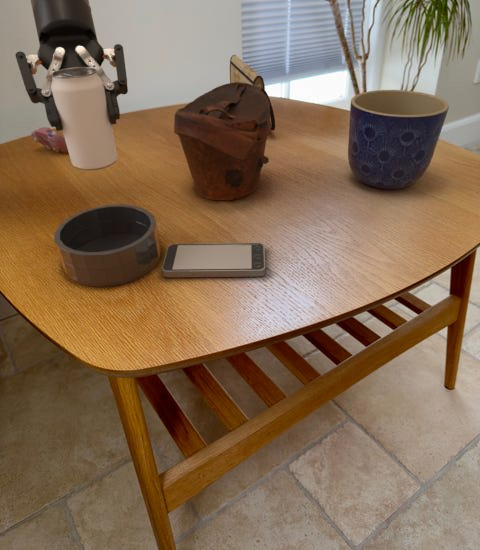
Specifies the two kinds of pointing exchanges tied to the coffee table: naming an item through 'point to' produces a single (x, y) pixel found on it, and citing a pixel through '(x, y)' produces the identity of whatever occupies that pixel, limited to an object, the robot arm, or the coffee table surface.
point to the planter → (393, 136)
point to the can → (84, 117)
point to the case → (225, 139)
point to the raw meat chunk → (49, 139)
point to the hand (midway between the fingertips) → (86, 124)
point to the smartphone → (214, 260)
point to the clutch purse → (248, 79)
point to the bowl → (108, 245)
